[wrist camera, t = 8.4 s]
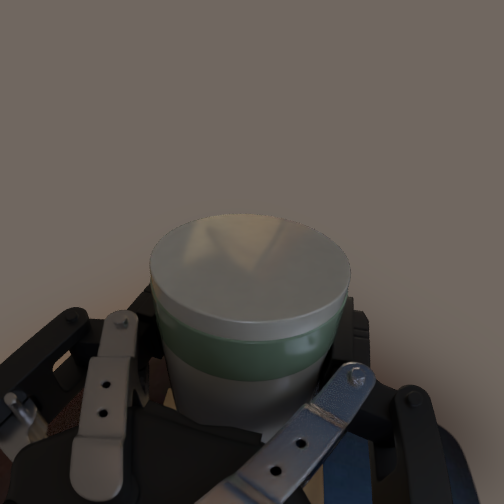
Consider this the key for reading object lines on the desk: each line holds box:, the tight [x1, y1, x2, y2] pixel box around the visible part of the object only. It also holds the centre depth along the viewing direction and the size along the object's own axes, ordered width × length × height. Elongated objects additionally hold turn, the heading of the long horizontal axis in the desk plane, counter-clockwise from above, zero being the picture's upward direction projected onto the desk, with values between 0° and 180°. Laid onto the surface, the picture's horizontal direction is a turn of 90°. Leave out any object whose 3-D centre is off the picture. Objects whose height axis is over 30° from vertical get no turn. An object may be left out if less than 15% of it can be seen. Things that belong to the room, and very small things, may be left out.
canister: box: [150, 214, 351, 443], centre depth 12 cm, size 6×6×10 cm
